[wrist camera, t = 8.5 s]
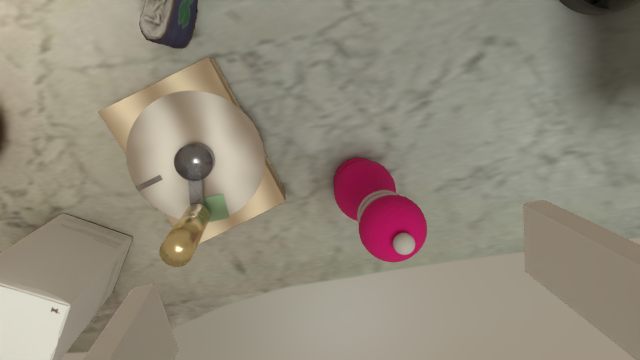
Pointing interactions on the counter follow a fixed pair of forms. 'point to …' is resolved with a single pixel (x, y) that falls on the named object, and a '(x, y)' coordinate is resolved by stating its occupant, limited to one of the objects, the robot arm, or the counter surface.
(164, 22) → the flask
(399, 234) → the pepper mill
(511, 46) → the counter surface
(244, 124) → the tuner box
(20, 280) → the supplement box
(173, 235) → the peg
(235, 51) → the counter surface
